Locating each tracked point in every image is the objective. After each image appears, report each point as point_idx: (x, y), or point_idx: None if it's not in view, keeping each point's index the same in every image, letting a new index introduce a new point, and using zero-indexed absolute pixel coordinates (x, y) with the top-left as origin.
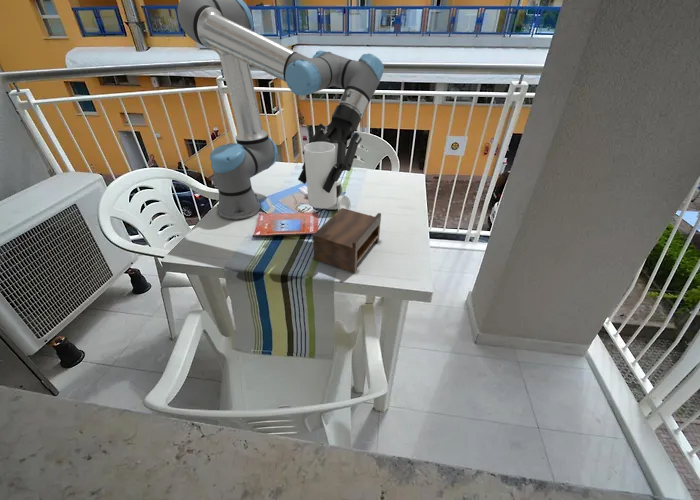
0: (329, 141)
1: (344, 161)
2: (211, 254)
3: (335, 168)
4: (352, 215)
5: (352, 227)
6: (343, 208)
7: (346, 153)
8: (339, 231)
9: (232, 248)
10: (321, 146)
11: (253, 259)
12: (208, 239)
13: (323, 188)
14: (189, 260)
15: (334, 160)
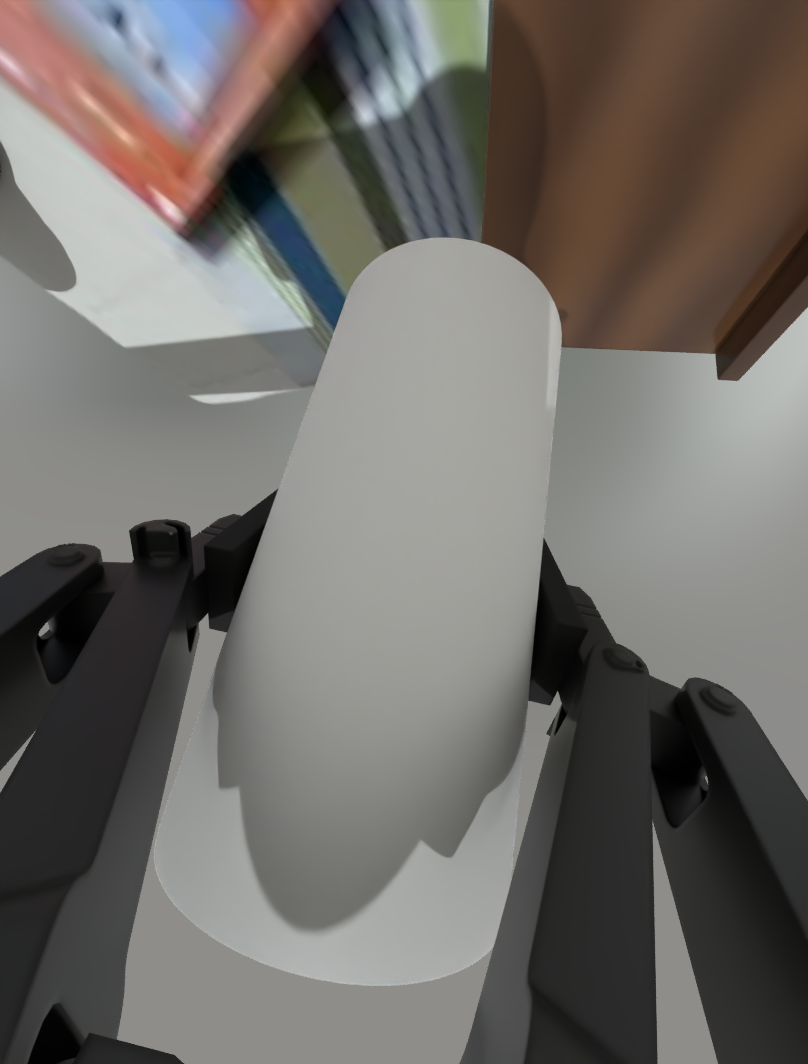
0: (78, 1020)
1: (657, 801)
2: (229, 366)
3: (553, 687)
4: None
5: (730, 142)
6: None
7: (689, 934)
8: (614, 254)
9: (229, 327)
10: (216, 818)
11: (320, 341)
12: (144, 324)
13: None
14: (227, 395)
15: (522, 756)
